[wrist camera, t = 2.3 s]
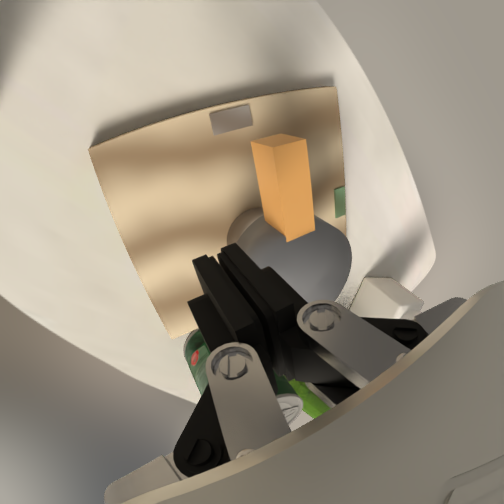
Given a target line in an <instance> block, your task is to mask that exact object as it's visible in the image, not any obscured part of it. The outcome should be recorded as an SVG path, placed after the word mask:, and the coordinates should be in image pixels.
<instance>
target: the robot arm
mask: <svg viewBox="0 0 504 504" xmlns="http://www.w3.org/2000/svg"><path fill="white" fill-rule="evenodd" d="M217 258H218V261H219V263H218V262H217V260H216V259H215V258H214V256H211V257H208V256H207V255H206V254H205V255H203V256H200V257H198V258H196V259H193V260H192V263H193V266H194V269H195V271H196V274H197V277H198V280H199V282H200V285H201V288H202V290H203V293H204V294H203V295H201V296H199V297H196V298H194V299H192V300H189V301H187V303H188V306H189V308H190V310H191V312H192V315H193V317H194V319H195V321H196V324H197V326H198V328H199V330H200V332H201V334H202V337H203V339H204V341H205V343H206V345H207V347H208V349H209V351H210V353H211V354H210V355H209V357H208V359H207V361H206V374H207V378H208V382H209V383H208V384H207V386H206V388H205V390H204V392H203V394H202V396H201V398H200V400H199V402H198V404H197V406H196V408H195V409H194V412H193V413H192V415H191V417H190V419H189V421H188V423H187V425H186V427H185V429H184V430H183V432H182V434H181V436H180V438H179V440H178V441H177V444H176V445H175V449H174V451H173V452H172V453H170V454H168V455H167V456H165V457H164V456H163V455H161V456H159V457H158V458H156V459H154V460H153V461H151V462H149V463H147V464H146V465H144V466H142V467H140V468H139V469H137V470H135V471H133V472H131V473H130V474H128V475H126V476H124V477H122V478H120V479H119V480H117V481H115V482H113V483H112V484H110V485H109V486H108V487H107V489H106V491H105V494H104V501H105V504H504V281H501V282H498V283H495V284H492V285H490V286H488V287H486V288H484V289H482V290H480V291H479V292H477V293H476V294H474V295H473V296H472V297H470V298H469V299H468V300H466V299H463V298H458V297H455V298H451V299H449V300H447V301H445V302H443V303H441V304H439V305H437V306H435V307H433V308H431V309H429V310H427V311H425V312H423V313H421V314H419V315H416V316H414V319H413V320H408V319H391V318H370V317H359V316H357V315H356V314H354V313H353V312H351V311H349V310H348V309H346V308H345V307H343V306H342V305H340V304H338V303H336V302H334V301H330V300H316V301H312V302H310V303H308V302H306V301H305V300H304V299H303V298H302V297H301V296H300V295H299V294H298V293H297V292H296V291H295V290H294V289H293V288H292V287H291V286H290V285H289V284H288V283H287V282H286V281H285V280H284V279H283V278H282V277H281V276H280V275H279V274H278V273H277V272H276V271H275V270H274V269H273V268H271V267H270V266H268V267H265V268H263V269H260V268H259V267H258V266H257V265H256V263H255V262H254V261H253V260H252V259H251V258H250V257H249V256H248V255H247V254H246V253H245V252H244V251H243V250H242V249H241V248H240V247H239V246H238V245H237V244H236V243H232V244H230V245H227V246H225V247H222V248H221V253H218V254H217ZM273 370H274V371H275V373H276V374H277V375H278V376H279V377H280V376H282V375H284V376H285V377H286V379H287V380H288V381H291V380H293V379H295V381H301V382H305V385H306V386H307V387H308V388H309V389H310V390H311V391H312V392H313V393H314V394H315V395H316V396H318V397H319V398H320V399H321V400H322V401H323V402H324V403H325V404H327V405H328V406H329V407H330V408H331V409H330V410H328V411H327V412H325V413H323V414H322V415H320V416H318V417H317V418H315V419H313V420H312V421H310V422H308V423H306V424H305V425H303V426H301V427H299V428H298V429H296V430H294V431H291V429H290V427H289V425H288V423H287V420H286V418H285V416H284V414H283V412H282V409H281V407H280V405H279V403H278V400H277V398H276V395H277V392H278V387H277V383H276V379H275V375H274V371H273Z"/></svg>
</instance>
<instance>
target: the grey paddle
mask: <svg viewBox="0 0 504 504" xmlns="http://www.w3.org/2000/svg"><path fill="white" fill-rule="evenodd" d="M250 142H251V147H252V152H253V157H254V163H255V168H256V174H257V179H258V184H259V190H260V195H261V201H262V207H263V212H264V215H262V216H261V217H259V218H258V219H257V220H255V221H254V222H253V223H252V224H251V225H250V226H249V227H248V228H247V229H246V230H245V231H244V232H243V234H242V235H241V236H240V238H239V239H238V241H237V243H236V244H237V245H238V246H239V247H240V248H241V249H242V250H243V251H244V252H245V253H246V254H247V255H248V256H249V257H250V258H251V259H252V260H253V261H254V262H255V263H256V265H257V266H258V267H259V268H260V269H263V268H265V267H268V266H270V267H271V268H273V269H274V270H275V271H276V272H277V273H278V274H279V275H280V276H281V277H282V278H283V279H284V280H285V281H286V282H287V283H288V284H289V285H290V286H291V287H292V288H293V289H294V290H295V291H296V292H297V293H298V294H299V295H300V296H301V297H302V298H303V299H304V300H305V301H306V302H308V303H310V302H312V301H316V300H330V301H335V300H336V298H337V297H338V296H339V294H340V292H341V291H342V289H343V287H344V285H345V283H346V281H347V279H348V276H349V272H350V268H351V262H352V252H351V247H350V244H349V241H348V239H347V237H346V236H345V235H344V234H343V233H342V232H341V231H340V230H339V229H337V228H336V227H334V226H332V225H331V224H329V223H327V222H326V221H324V220H322V219H321V218H319V217H317V216H316V215H314V210H313V199H312V188H311V178H310V169H309V160H308V151H307V143H306V139H304V138H299V137H295V136H290V135H286V134H277V135H273V136H269V137H265V138H261V139H257V140H254V141H250Z"/></svg>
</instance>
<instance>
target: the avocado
mask: <svg viewBox="0 0 504 504" xmlns="http://www.w3.org/2000/svg"><path fill="white" fill-rule="evenodd" d="M284 377H285V376H284ZM285 378H286V377H285ZM288 382H289V383H290V385H291V386H292V387H293V389H294V390H295V392H296V393H297V394H298V396H299V397H301V398H302V400H303V408H302V410H303V411H304V412H306V413H307V414H309V415H310V416H311V417H312V418H314V419H315V418H317V417H318V416H320V415H322V414H323V413H325V412H327V411H328V410H330V409H331V408H330V407H329V406H328V405H327V404H325V403H324V402H323V401H322V400H321V399H320V398H319V397H318V396H316V395H315V394H314V393H313V392H312V391H311V390H310V389H309V388H308V387H307V386H306V385H305V382H301V381H295V379H293V380H291V381H288Z"/></svg>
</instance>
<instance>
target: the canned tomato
mask: <svg viewBox="0 0 504 504" xmlns="http://www.w3.org/2000/svg"><path fill="white" fill-rule="evenodd" d="M210 354H211V353H210V351H209V349H208V347H207V345H206V343H205V341H204V339H203V337H202V334H201V332H200V330H199V328H198V329H195V330H194V331H193V332H192V333H191V334H190V335H189V337H188V338H187V340H186V342H185V344H184V357H185V359H186V361H187V362H188V365H189V368H190V370H191V373H192V375H193V377H194V380H195V382H196V384H197V387H198V389H199V391H200V393H201V395H202V394H203V392H204V390H205V388H206V386H207V384H208V383H209V382H208V378H207V374H206V361H207V359H208V357H209V355H210ZM273 371H274V370H273ZM274 375H275V379H276V383H277V387H278V392H277V395H276V398H277V400H278V403H279V405H280V407H281V409H282V412H283V414H284V416H285V418H286V420H287V423H288V425H290V424H291V423H292V422H293V421H294V420H295V419H296V418H297V417H298V416H299V414H300V412H301V411H302V408H303V400H302V398H301V397H299V396H298V394H297V393H296V392H295V390H294V389H293V387H292V386H291V385H290V383H289V382H288V380H287V379H286V378H285V377H284V375H282V376H280V377H279V376H278V375H277V374H276V373H275V371H274Z"/></svg>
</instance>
